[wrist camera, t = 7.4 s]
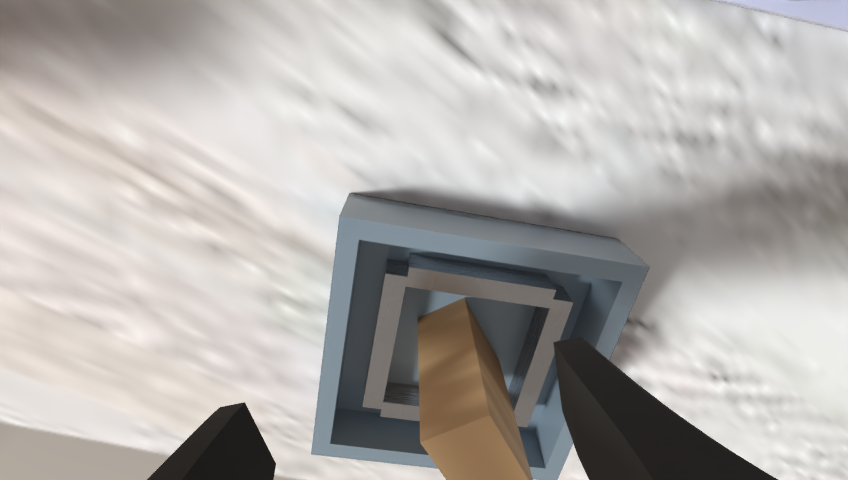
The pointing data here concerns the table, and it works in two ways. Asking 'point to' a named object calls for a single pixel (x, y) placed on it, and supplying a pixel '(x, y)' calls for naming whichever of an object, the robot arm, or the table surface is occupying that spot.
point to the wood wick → (465, 400)
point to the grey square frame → (474, 283)
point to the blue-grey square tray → (500, 321)
